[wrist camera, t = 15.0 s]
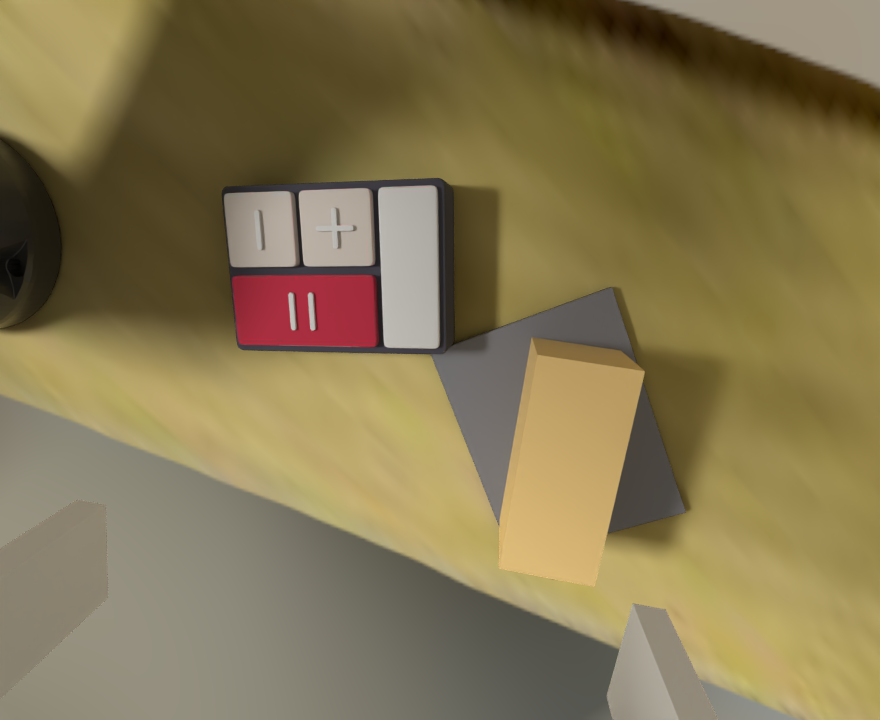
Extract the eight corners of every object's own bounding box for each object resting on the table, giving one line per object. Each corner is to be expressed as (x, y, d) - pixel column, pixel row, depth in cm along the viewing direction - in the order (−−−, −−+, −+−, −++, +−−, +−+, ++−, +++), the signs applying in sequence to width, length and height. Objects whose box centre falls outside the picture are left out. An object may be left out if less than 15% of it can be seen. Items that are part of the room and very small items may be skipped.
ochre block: (594, 586, 31) (644, 371, 28) (499, 568, 32) (537, 354, 28) (580, 533, 37) (620, 350, 34) (499, 519, 37) (531, 337, 34)
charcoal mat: (431, 352, 36) (430, 353, 35) (610, 287, 34) (612, 287, 33) (512, 554, 39) (512, 559, 38) (682, 508, 36) (685, 512, 36)
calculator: (212, 184, 32) (443, 175, 29) (248, 192, 36) (453, 184, 34) (230, 352, 34) (445, 357, 32) (262, 341, 39) (455, 345, 36)
